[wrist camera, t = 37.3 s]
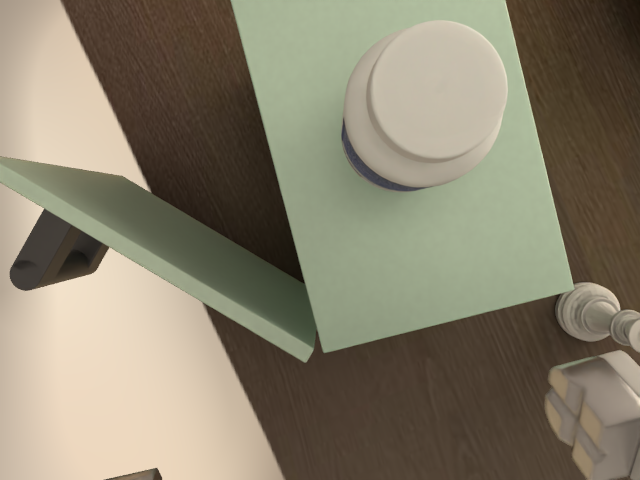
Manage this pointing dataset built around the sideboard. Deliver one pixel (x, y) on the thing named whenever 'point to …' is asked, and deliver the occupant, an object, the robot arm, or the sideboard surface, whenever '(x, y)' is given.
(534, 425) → the sideboard surface
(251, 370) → the sideboard surface
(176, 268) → the fridge door
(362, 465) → the sideboard surface
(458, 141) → the pill bottle
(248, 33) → the mini fridge
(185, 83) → the sideboard surface
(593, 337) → the chess piece
